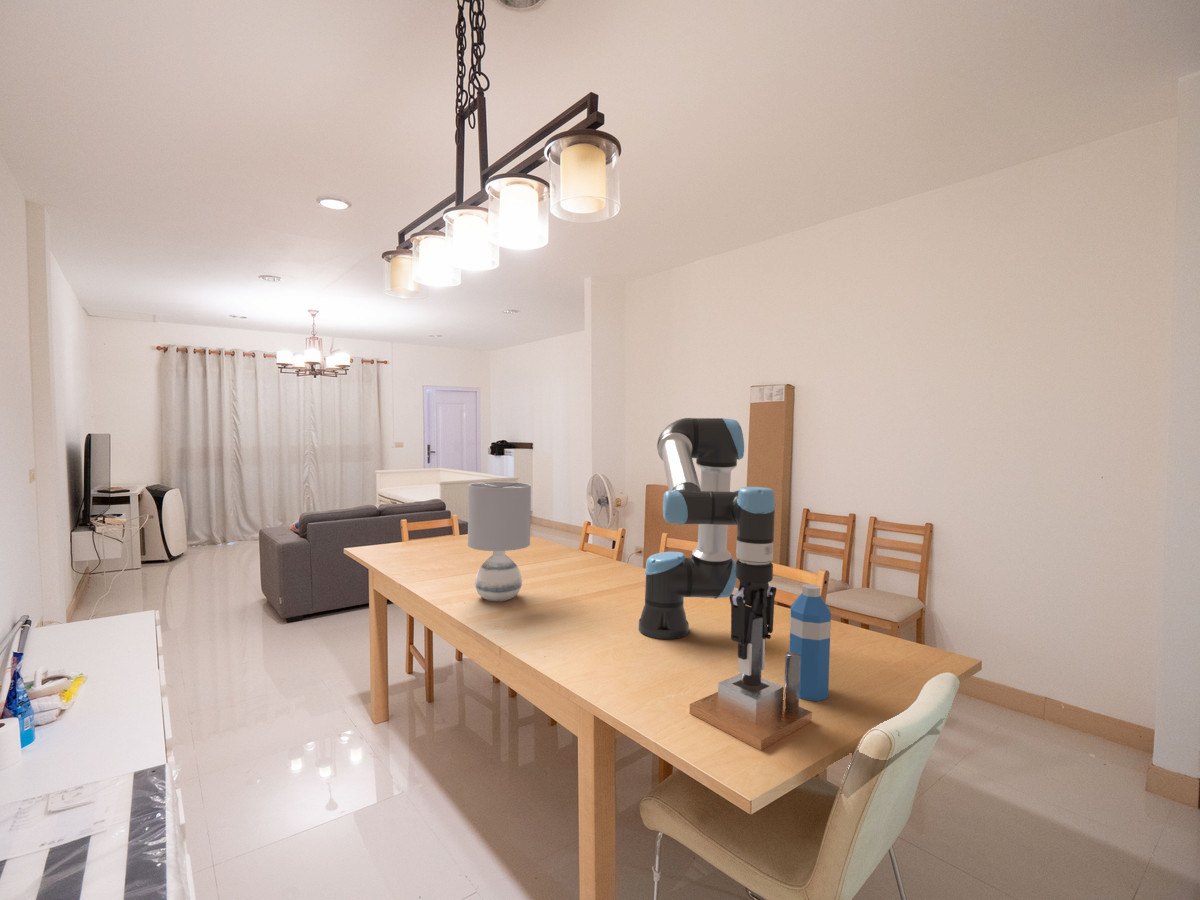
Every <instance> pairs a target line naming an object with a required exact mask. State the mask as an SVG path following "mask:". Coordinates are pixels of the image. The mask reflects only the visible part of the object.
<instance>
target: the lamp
mask: <svg viewBox="0 0 1200 900" xmlns="http://www.w3.org/2000/svg"><path fill="white" fill-rule="evenodd" d="M531 493H532V484H530V483H526V482H517V481H515V482H514V481H483V482H473V483H469V484H468V494H467V495H468V496H467V497H468V498H467V499H468V502H467V504H468V505H467V510H468V511H467V546H468V547H469V548H470V549H473V550H477V551H484V552H486V551H487V552H492V555H491V556H489V557H488V558H487V559H486V560H485V561H484V562H483V563H482V564H481V565H480V567H479V568H478V571H477V572H476V574H475V575H476V576H475V582H474V587H475V589H476V592H477V594H478V595H479V596H480V597H481V598H483V599H485V600H486V601H490V602H494V603H495V602H497V603H499V602H506V601H509V600H512V599H513V598H515V597H516V596H517V595H518V594H519V593H520V591H521V589H522V585H523V579H522V577H523V576H522V574H521V571H520V569H519V567H518V565H517V564H516V563H515V562H514V560H513V559H512V558H510V556H508V555H507V554H506V551H508V552H509V551H515V550H516V551H518V550H521V549H525V548H528V547H529V546H530V545H531V513H532V512H531V504H532V503H531V502H532V501H531V500H532V495H531Z"/></svg>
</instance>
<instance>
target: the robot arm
mask: <svg viewBox="0 0 1200 900" xmlns="http://www.w3.org/2000/svg"><path fill="white" fill-rule="evenodd" d="M656 448H657V449H656V450H657V454H658V456H659V458H660V459H661V460H662V461H663V467H664V472H665V477H666V482H667V488H668V490H666V491H665V492H664V493H663V497H662V514H663V516H662V517H663V520H664V521H665V522H666V523H668V524H675V525H676V524H678V525H682V526H683V525H698V529H697V533H698V534H697V546H696V547H695V548H694V549H693V550H692V551H691V557H686V555H685V553H683V552H682V551H681V552H680V551H662V552H658V553H654V554H651V555H649V557H647V559H646V561H645V562H646V563H645V571H644V575H645V584H644V589H645V591H644V605H643V608H642V612H641V615H640V618H639V620H638V631H639V633H641V634H642V635H645V636H647V637H650V638H654V639H659V640H660V639H661V640H662V639H663V640H673V639H674V640H675V639H679V638H683V637H685V636H687V635H688V634H689V633H690V631H689V630H690V629H689V628H690V627H689V621H688V619H687V616H686V615H687V614H686V610H685V608H684V600H685V599H684V598H701V599H702V598H705V599H707V598H708V599H721V598H724V599H726V598H729V602H730V609H731V610H730V616H731V617H730V639H731V641H733V642H736V643H737V656H738V657H737V658H738V662H737V663H738V665H737V666H738V667H737V669H738V670H737V671H738V672H739V673H740V674H741V673H743V674H746V675H748V676H750V675H751V662H752V644H751V643H749V641H750V635H751V628H752V621H753V614H756V615H759V616H762V617H763V632H762V666H761V671H763V670H765V666H766V665H765V664H766V663H765V662H766V661H765V659H766V645H767V644H766V643H767V642H766V640H767V639H768V640H770V639H771V637H772V635H771V634H772V633H773V631H774V615H775V597H776V595H777V587H775V586H771V585H769V583H771V582H772V581H773V576H774V575H773V574H774V564H773V563H772V561H773V560H774V541H775V540H774V538H775V537H774V536H775V514H776V508H777V506H776V499H775V498H776V496H775V495H776V494H775V491H774V490H773V489H772V488H770V487H763V486H744V487H743V486H742V487H740V488H739V490H734V491H731V480H732V478H731V475H732V471H733V470H734V469H735V468H736V467H737V465H738V460H739V461H740V460H741V459H743V458H744V454H745V438H744V433H743V430H742V426H741V424H740V422H739V421H738V420H736V419H732V418H724V417H717V418H716V417H712V418H710V417H705V418H703V417H685V418H680V419H676V420H675V421H673V422H671V423H670V424H668V425H667V426H665V428H664V429H663V430H662V432H661V433H660V434H659V437H658V439H657V443H656ZM693 459H696V461H695V463H696V466H698V468H699V469H700V481H699V478H698V474H697V471H696V467H695V463H694V460H693ZM729 526H736V529H737V530H736V531H737V532H736V534H737V535H736V547H735V548H736V549H735V558H736V559H738V560H737V561H736V560H735V559H734V558H732V554H731V552H730V551H729V550H728V549H727V547H728V530H729V529H728V528H729ZM737 579H738V582H739V586H738V588H737V591H738V592H737V593H736V594H733V593H734V590H735V587H736V583H737ZM744 637H745V638H744Z"/></svg>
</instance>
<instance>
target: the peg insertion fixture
mask: <svg viewBox="0 0 1200 900" xmlns="http://www.w3.org/2000/svg"><path fill="white" fill-rule="evenodd" d="M800 657H801V656H800V654H798V653H795V652H789V651H788V652H787V651H786V652H785V657H784V660H785V661H784V662H785V663H784V686H782V685H779V684H778V683H775V682H773V681H771V680H768V679H765V678H763V677H761V685H759V686H748V685H745V684H743V683H742V673H741V672H740V673H739V674H736V675H734V676H731V677H729V678H726V679H725V680H722V681H720V682H718V684H717V687H718V689H717V692H714V693H713V694H712V693H711V694H709V695H707V696H705V697H703V698H700V699H698V700H696V701H693V702H691V703H689V712H688V713H689V714H690V715H692V716H694V717H697V718H698V719H700V720H701V721H703V722H706V723H707V724H709V725H711V726H713V727H715V728H717V729H719V730H721V731H723V732H724V733H727V734H729V736H732V737H734V738H736V739H737V740H740V741H741V742H743V743H745V744H747V745H750V746H751V747H753V748H755V749H756V750H759V751H763V750H764V749H766V748H768V747H770V746H771V745H774V744H775V743H776V742H779V741H780V740H782V739H784V738H785V737H787V736H789V735H790V734H793V733H794V732H796V731H798V730H799V729H801V728H803V727H804V726H806V725H808V724H809V723H811V722H812V721H813V720H812V717H813V712H812V711H810V710H808V709H805V708H804V707H801V706H800V698H799V687H800Z"/></svg>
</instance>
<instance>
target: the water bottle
mask: <svg viewBox="0 0 1200 900" xmlns="http://www.w3.org/2000/svg"><path fill="white" fill-rule="evenodd" d="M801 587H802V588H801V590H802V591H801V594H799V595H798V596H797V598H796V599H795V600H794V601H793V602H792V603H791V604H790V620H789V621H790V623H789V624H790V626H789V647H788V648H789V650H788V652H795V653H798V654H800V656H801V657H800V687H799V700H804V701H805V700H808V701H813V702H819V701H823V700H826V699H827V700H828V698H829V684H830V683H829V682H830V680H829V679H830V676H829V675H830V655H831V654H830V652H831V651H830V650H831V649H830V648H831V624H832V623H831V622H832V621H831V620H832V613H831V610H830V608H829V606H828V605H827V603H826V602H825V601H824V599H823V598H822V596H821V587H820V585H817V584H813V583H812V584H811V583H804V584H802V586H801Z"/></svg>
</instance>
